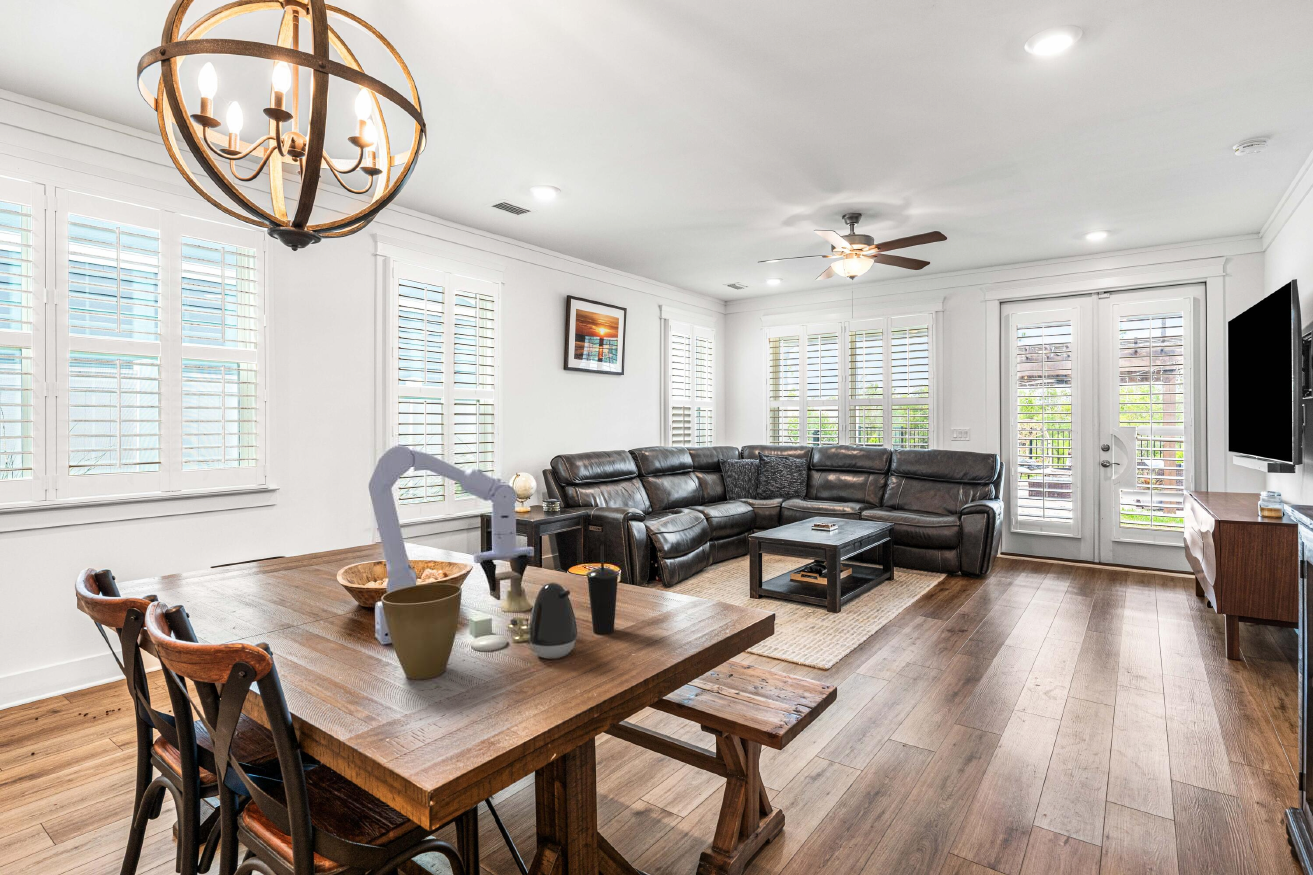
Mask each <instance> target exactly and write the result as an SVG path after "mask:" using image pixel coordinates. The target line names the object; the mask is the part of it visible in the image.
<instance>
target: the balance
mask: <svg viewBox="0 0 1313 875" xmlns="http://www.w3.org/2000/svg"><path fill="white" fill-rule="evenodd" d="M524 622H526V623H525V624H524ZM529 622H530V619H529V618H526V617H517V616H515V617H512V619H510V623H508V624H507V628H508V629H517V630H518V633H516V634H515V635H513V636H512V642H513V643H517V644H518V643H526V642H529V639H528V633H524V630H525V631H526V630H528V631H529V624H530V623H529Z"/></svg>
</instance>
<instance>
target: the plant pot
mask: <svg viewBox="0 0 1313 875" xmlns="http://www.w3.org/2000/svg"><path fill="white" fill-rule="evenodd" d="M462 592H463V588H462V587H461V586H459V585H458V584H453V583H425V584H423V583H422V584H418V585H417V584H416V585H415V586H409V587H404V588H400V589H397V590H393V591H391V592H388V593H387V592H386V593H384V594H383V595H382V596H381V599H380V601H382V605H383V610H384V615H385V619H386V624H387V627H388V631H389V634H390V638H391V641H392V643H391V644H392V646H393V650H394V652H395V654H396V658H397V659H398V662H399V664H400V666H401V668H402V672H403V673H404V675H405V677H406V678H408V679H410V680H413V681H415V680H416V681H417V680H418V681H419V680H420V681H421V680H427V679H428V680H429V679H432V678H436V677H438V676H439V677H440V675H443V674H444V673H445V671H446V668H448V667H447V666H448V663H449V660H450V656H451V654H452V650H453V647H454V642H455V638H456V635H457V629H458V624H459V618H460V612H461V604H462V603H461V602H462Z"/></svg>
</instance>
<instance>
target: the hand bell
mask: <svg viewBox="0 0 1313 875" xmlns="http://www.w3.org/2000/svg"><path fill="white" fill-rule="evenodd" d="M509 566H510V569H511V571H513V572H515V571H514V563H513V558H509ZM521 595H522V596H521V597H519V596H517V595H516V594H514V593H512V592H511V586H510V587H508V588H507V592H506V598H505V601H504V602H503V604H502V605H501V606H500V611H501V612H504V613H514V614H515V613H521V612H527V611H529V610H531V609H533V604H532V603H531V602H530V601H529V600H528V598H527V594H526V590H525V587H524V586H522V585H521Z"/></svg>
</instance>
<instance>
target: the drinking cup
mask: <svg viewBox="0 0 1313 875" xmlns="http://www.w3.org/2000/svg"><path fill="white" fill-rule="evenodd" d="M604 548H605V546H604V545H600V567H597V568H593V569H592V570H590V571H588V572H587V573H585V575H586V578H587V585H588V596H589V604H590V606H589V607H590V614H591V621H592V631H593V632H592V633H594V634H595V635H600V636H602V635H610V634H613V633H614V632H615V624H616V621H615V620H616V606H617V594H618V579H619V576H620V572H619V571H618V570H614V569H612V568H610V567H605V556H604V555H605V553H604V552H605V551H604V550H605V549H604Z"/></svg>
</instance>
